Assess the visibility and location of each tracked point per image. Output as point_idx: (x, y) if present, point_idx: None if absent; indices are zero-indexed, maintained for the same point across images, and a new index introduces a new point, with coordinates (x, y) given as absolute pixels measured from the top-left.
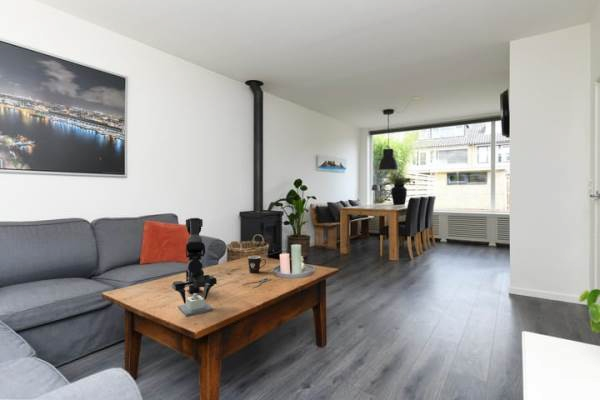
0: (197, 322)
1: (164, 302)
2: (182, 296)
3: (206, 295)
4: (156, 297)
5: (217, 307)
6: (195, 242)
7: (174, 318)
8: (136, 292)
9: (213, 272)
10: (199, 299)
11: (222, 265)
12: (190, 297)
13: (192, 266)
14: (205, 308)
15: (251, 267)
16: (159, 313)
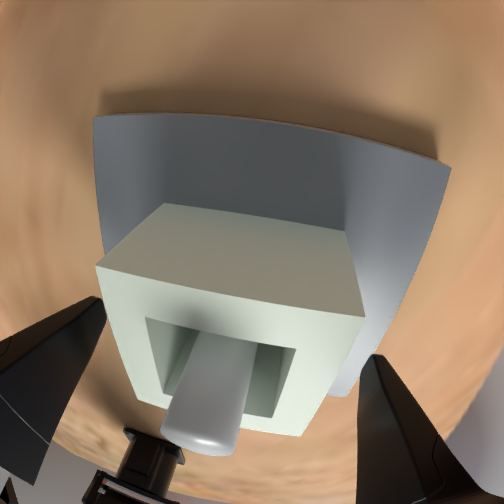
0: None
1: (333, 452)
2: (439, 453)
3: (50, 323)
4: (317, 479)
5: (59, 165)
6: None
7: None
8: (330, 499)
9: (88, 453)
10: (169, 298)
11: (72, 451)
12: (255, 424)
13: None
14: (159, 159)
15: None
16: (474, 366)
